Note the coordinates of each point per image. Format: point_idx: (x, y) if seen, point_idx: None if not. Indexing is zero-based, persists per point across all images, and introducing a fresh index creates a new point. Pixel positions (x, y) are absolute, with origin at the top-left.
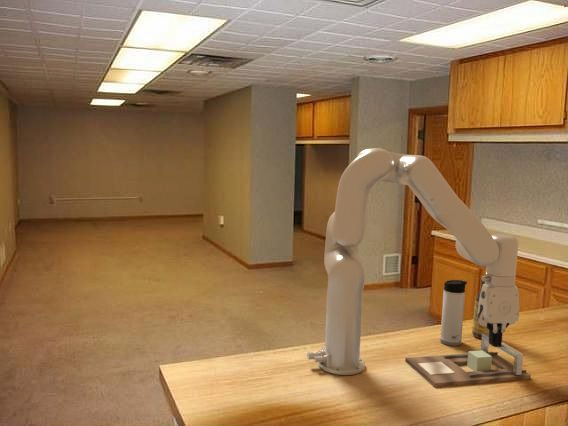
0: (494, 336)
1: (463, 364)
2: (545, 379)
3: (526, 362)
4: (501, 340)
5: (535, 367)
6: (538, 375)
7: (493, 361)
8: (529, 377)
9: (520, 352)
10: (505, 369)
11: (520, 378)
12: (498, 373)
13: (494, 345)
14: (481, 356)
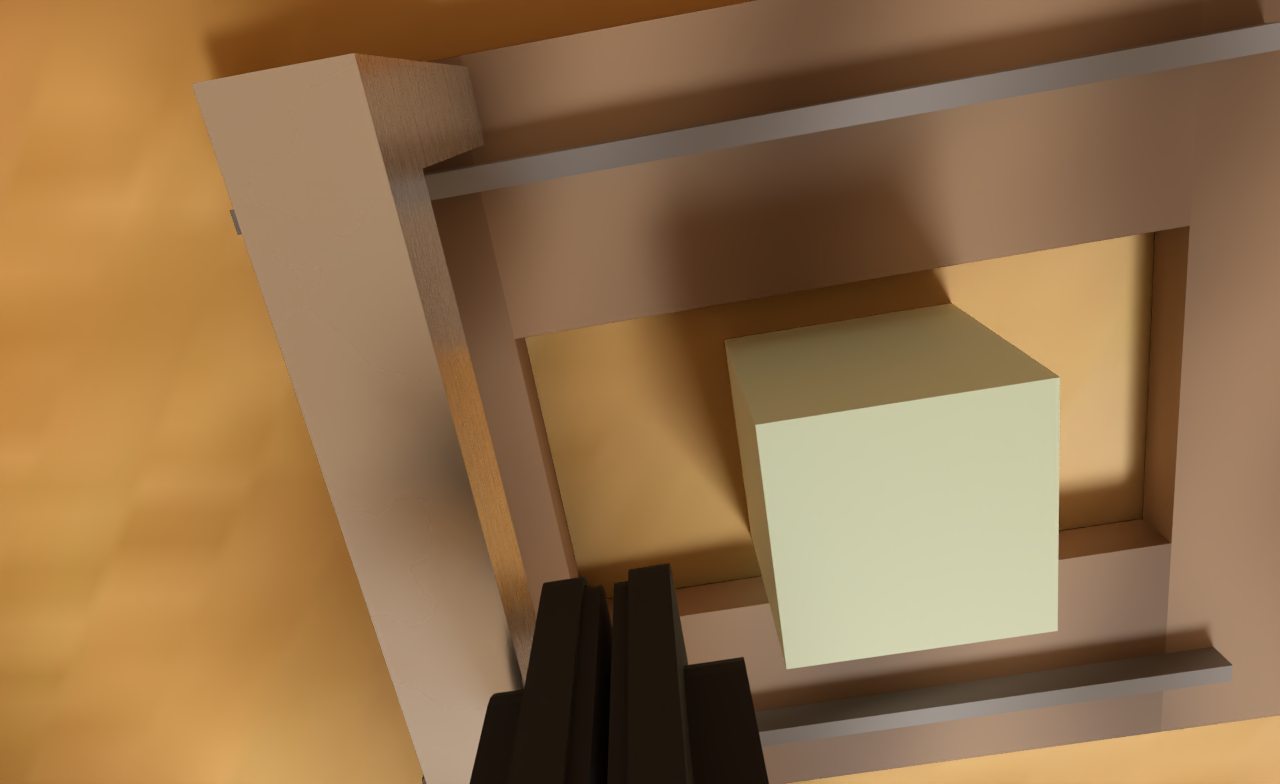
0: (713, 779)
1: None
2: (8, 87)
3: (103, 614)
4: (530, 675)
5: (30, 476)
6: (71, 226)
7: None
8: None
9: (235, 178)
10: (531, 311)
11: None
12: (740, 119)
13: (679, 616)
14: (953, 426)
